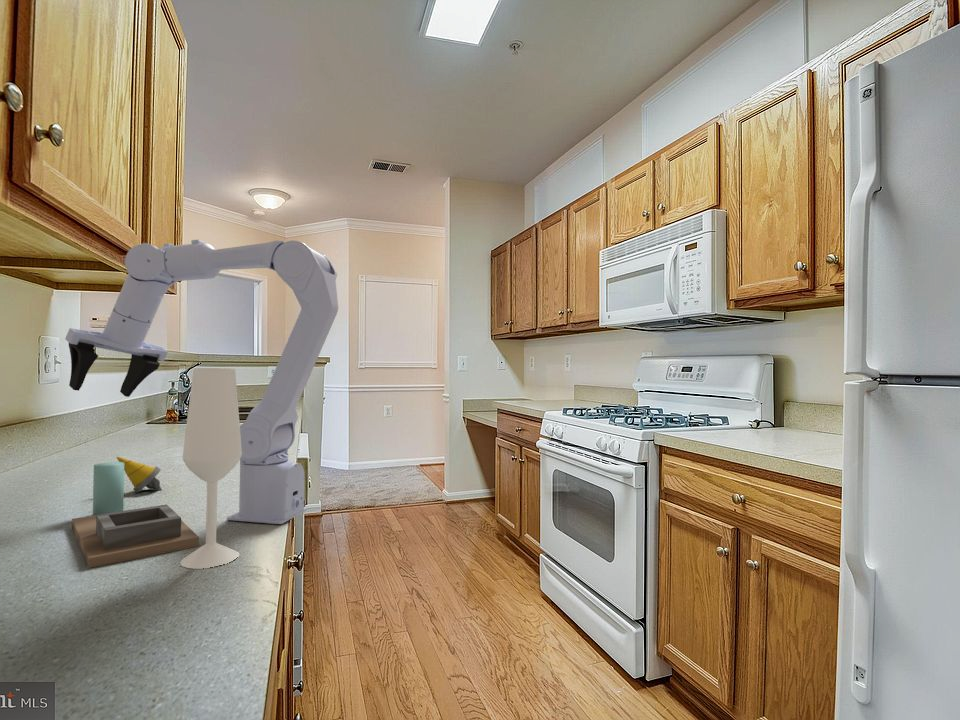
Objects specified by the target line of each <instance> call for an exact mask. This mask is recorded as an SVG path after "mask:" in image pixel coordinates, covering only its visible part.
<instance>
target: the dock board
mask: <svg viewBox="0 0 960 720" xmlns="http://www.w3.org/2000/svg"><path fill="white" fill-rule="evenodd" d="M71 528H72V531H73V533H74V536H75V538H76V540H77V543H78V545H79V548H80V550H81V553H82V555H83V558H84V560H85V562H86V566H87V568H88V569H90V568H98V567H100V566H106V565H110V564H115V563H116V564H117V563H120V562H121V563H122V562H125V561H130V560H131V561H132V560H137V559H141V558H145V557H146V558H147V557H151V556H156V555H161V554H166V553H171V552H176V551H181V550H185V549H190V548H194V547H199V546H200V536H199V535H197V534H196V533H195V532H194V530H192V529H191V528H190V527H189V526H188V525H187V524H186V523H185V522H184V521H183V520H182V517H181V516H180V515H179V514H178V513H177V512H176V511H175V510H173V509H172V508H171V507H170V506H169V505H168V504H162V505H155V506H148V507H141V508H134V509H126V510H123V511H119V512H112V513H106V514H99V515H95V516H93V515H89V516H82V517H75V518H72V521H71Z"/></svg>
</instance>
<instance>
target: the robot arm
mask: <svg viewBox="0 0 960 720" xmlns="http://www.w3.org/2000/svg"><path fill="white" fill-rule="evenodd" d="M330 260H331V259H329V258H328V257H327V256H326V254H323V253H321V252H318V251H316V250H315V249H313V248H311V247H310V246H309V245H307V244H306V243H304V242H302V241H299V240H289V241H284V240H272V241H270V242H269V241H268V242H262V243H254V244H247V245H240V246H233V247H227V248H225V247H224V248H220V249H219V248H218V249H216V248H215V247H214V246H213V245H212V244H210V243H208V242H204V241H203V240H200V239H192V240H191V243H190V244H189V243H188V244H178V245H176V244H175V245H174V244H173V243H169V242H168V243H164V244H163V246H160V247H159V248H158V247H156V246H155V245H153V244H151V243H147V242H143V243H141V244H136V245H134V246H133V247H130V249H129V251H127V253H126V256H125V259H124V266H125V269H126V271H127V272H128V274H127V276H126V277H125V280H124V282H123V285H122V287H121V289H120V291H119V295H118V296H117V299H116V301H115V303H114V306H113V308H112V310H111V313H110V314H109V315H110V316H109V317H108V320H107V322H106V324H105V326H104V328H103V331H102V332H101V331H92V330H84V329H79V328H78V329H77V328H73V327H70V328H69V329H68V330H67V333H66V336H65V338H64V339H65V341H66V342H68V348H69V354H70V360H71V361H70V364H71V366H70V367H71V368H70V369H71V370H70V379H69V385H68V386H69V387H70V388H71V389H72V390H73V391H80V390H81V388H82V387H83V384H84V382H85V379H86V377H87V374H88V373H89V371H90V369H91V368H92V366H93V364H94V363H95V361H96V360H97V359H98V357H99V355H98V354H97V353H96V352H95V351H96V349H95V348H98V349H104V350H109V351H112V352H118V353H125V354H129V355H131V357H130V362H129V366H128V369H127V373H126V375H125V377H124V380H123V382H122V384H121V387H120V391H119V392H120V393H121V395H123V396H124V397H127V398H129V397H130V396H131V395H132V394H133V392H134V391H135V390H136V389H137V388H138V386H139V385H140V384H141V383H142V382H144V380H145V379H146V378H147V377H149V376H150V375H151V374H152V373H154V372H155V371H156V370H158V369H159V367H160V365H161V364H160V362H164V361H165V359H166V357H167V356H168V353H169V351H168V350H167V349H165V348H164V347H162V346H158V345H155V344H154V345H153V344H149V343H146V342H144V341H145V340H146V337H147V335H148V333H149V331H150V328H151V325H152V324H153V321H154V319H155V316H156V314H157V312H158V309H159V307H160V305H161V302H162V300H163V299H164V298H163V297H164V296H165V295H166V294H167V293H168V290H169V289H170V287H171V286H172V285H173V286H174V285H175V284H176V283H178V282H183V281H195V280H196V281H197V280H207V279H214V278H216V277H217V276H218V275H219V273H220V272H221V271H222V270H223V271H225V270H226V271H227V270H247V269H248V270H249V269H269V270H272V271H274V272H276V274H277V276H278V277H280V278H281V280H282V281H283V282H285V284H286V285H287V286H288V287H289V288H290V289H291V290H292V292H293V294H294V296H295V298H296V300H297V302H298V304H299V305H300V306H299V307H300V312H299V314H298V316H297V319H296V320H295V323H294V326H293V327H292V331H291V333H290V335H289V337H288V339H287V342H286V344H285V346H284V349H283V350H282V354H281V355H280V358H279V360H278V362H277V364H276V367H275V369H274V372H273V374H272V375H271V378H270V381H269V383H268V386H267V388H266V390H265V393H264V395H263V397H262V399H260V401H259V402H258V403H257V404H256V405H255V406H254V407H253V408H252V409H251V410H250V412H249V413H248V415H247V418H246V420H245V421H244V422H243V423H241V424H240V435H241V448H242V456H241V458H240V460H239V497H238V498H239V501H238V505H239V506H238V507H239V508H238V511H237V512H234V513H232V514H230V515H228V516H226V521H235V522H247V523H248V522H249V523H259V524H260V523H261V524H262V523H263V524H273V525H283V524H284V523H287V522H288V521H290V520H292V519H294V518H296V517H297V516H298V515H301V514H302V513H304V512H306V511H307V507H305V483H306V482H305V480H306V477H305V474H306V473H305V469H304V466H303V465H302V464H301V463H299V462H295V461H292V460H290V459H289V452H288V450H289V449H290V448H291V447H292V445H293V444H294V442H295V439H296V431H295V429H296V423H297V421H298V419H299V416H298V412H297V407H298V403H299V402H300V399H301V398H302V397H301V396H302V394H303V392H304V390H305V388H306V386H307V383H308V381H309V379H310V376H311V375H312V372H313V369H314V367H315V365H316V362H317V360H318V357H319V356H320V353H321V351H322V348H323V346H324V344H325V342H326V339H327V337H328V335H329V332H330V331H331V328H332V326H333V323H334V321H335V319H336V316H337V314H338V312H339V301H338V290H337V283H336V280H337V277H338V272H337V271H336V269H335V268H334V266H333V264H332V262H331V261H330ZM159 361H160V362H159Z"/></svg>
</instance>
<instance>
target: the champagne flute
mask: <svg viewBox="0 0 960 720" xmlns="http://www.w3.org/2000/svg"><path fill="white" fill-rule="evenodd" d="M192 371H193V372H192V379H191V387H190V395H189V401H188V402H189V404H188V410H187V418H186V426H185V433H184V434H185V435H184V443H183V451H182V461H183V462H184V465H185V466H186V467H187V468H188V470H189V471H190V472H192V473H193V474H194V475H195V476H197V477H198V478H199V479H200V480H201V481H203V482H205V483H206V509H205V510H206V513H205V514H206V516H205V518H206V521H205V544H204V545H202V546H200V547H198V548H196V549H195V550H194V551H192V552H191V553H190V554H188V555H187V556H185V557H184V558H182V559H181V561H180V565H181V566H182V567H183V568H188V569H192V570H193V569H194V570H195V569H196V570H200V569H201V570H203V568H204V569H211V568H210V567H213V568H215V567H214V566H218V565H222V566H224V565H223V564H225V565H228V564H230V563H229V562H231V561H233V560H234V559H236V558H237V557H238V558H240V553H239V552H238V551H237V550H234V549H232V548H230V547H227V546H225V545H222V544H220V543H219V542H217V514H218V513H217V511H218V482H219V481H220V480H222V479H224V478H225V477H226V476H227V475H228V474H229V473H230V472H231V471H232V470H234V468H235V467H236V465H237V464H238V463H240V458H241V456H242V448H241V435H240V426H241V424H240V413H239V410H240V409H239V401H238V399H239V398H238V388H237V387H238V386H237V373H236V369H235V368H221V367H220V368H214V367H212V368H211V367H210V368H209V367H208V368H205V367H204V368H203V367H202V368H201V367H199V368H197V367H194V368H193V370H192ZM238 558H237V559H238ZM237 559H236V560H237ZM233 562H234V561H233ZM227 563H228V564H227ZM231 563H232V562H231ZM218 567H219V566H218Z"/></svg>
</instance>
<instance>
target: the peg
mask: <svg viewBox="0 0 960 720" xmlns="http://www.w3.org/2000/svg"><path fill="white" fill-rule="evenodd" d="M92 481H93V482H92V484H93V490H92V495H93V496H92V516H95V515H99V514H106V513H112V512H119V511H124V495H125V494H124V493H125V490H124V489H125V471H124V463H123V462H119V461H108V462H100V463H95V464H93V480H92Z"/></svg>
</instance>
